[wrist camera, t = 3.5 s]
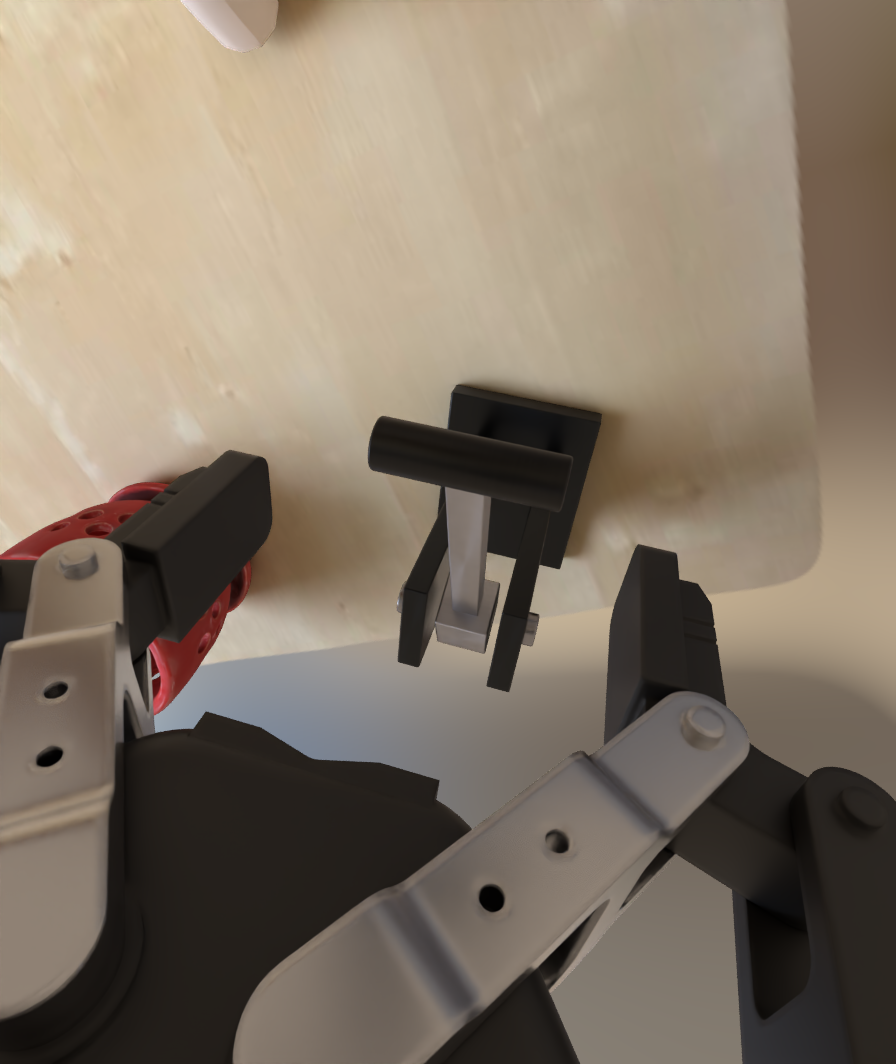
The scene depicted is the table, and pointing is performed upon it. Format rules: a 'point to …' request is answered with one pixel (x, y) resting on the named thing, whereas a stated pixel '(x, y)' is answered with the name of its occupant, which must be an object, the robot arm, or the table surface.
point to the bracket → (502, 523)
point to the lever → (469, 506)
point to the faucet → (236, 21)
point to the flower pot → (165, 655)
